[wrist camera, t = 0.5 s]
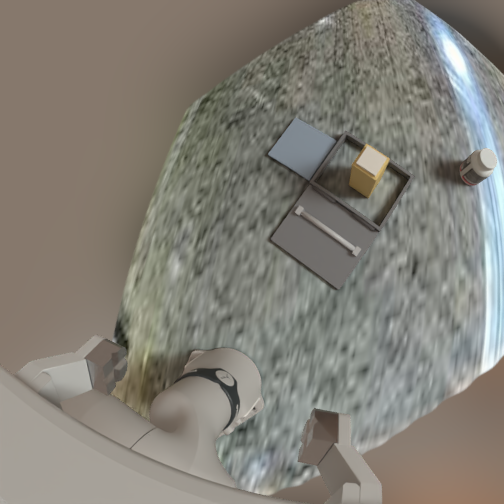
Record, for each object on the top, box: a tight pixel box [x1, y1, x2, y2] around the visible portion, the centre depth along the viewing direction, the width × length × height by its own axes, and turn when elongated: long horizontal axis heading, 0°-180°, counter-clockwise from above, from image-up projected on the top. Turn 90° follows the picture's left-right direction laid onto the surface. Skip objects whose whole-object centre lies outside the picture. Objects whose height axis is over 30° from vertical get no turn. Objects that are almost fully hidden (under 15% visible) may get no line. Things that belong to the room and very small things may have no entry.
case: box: [271, 131, 414, 290], centre depth 55 cm, size 26×16×2 cm, turn 144°
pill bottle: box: [459, 148, 497, 186], centre depth 45 cm, size 5×5×10 cm
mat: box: [268, 118, 337, 181], centre depth 59 cm, size 10×10×1 cm
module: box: [349, 144, 390, 198], centre depth 50 cm, size 4×4×13 cm
